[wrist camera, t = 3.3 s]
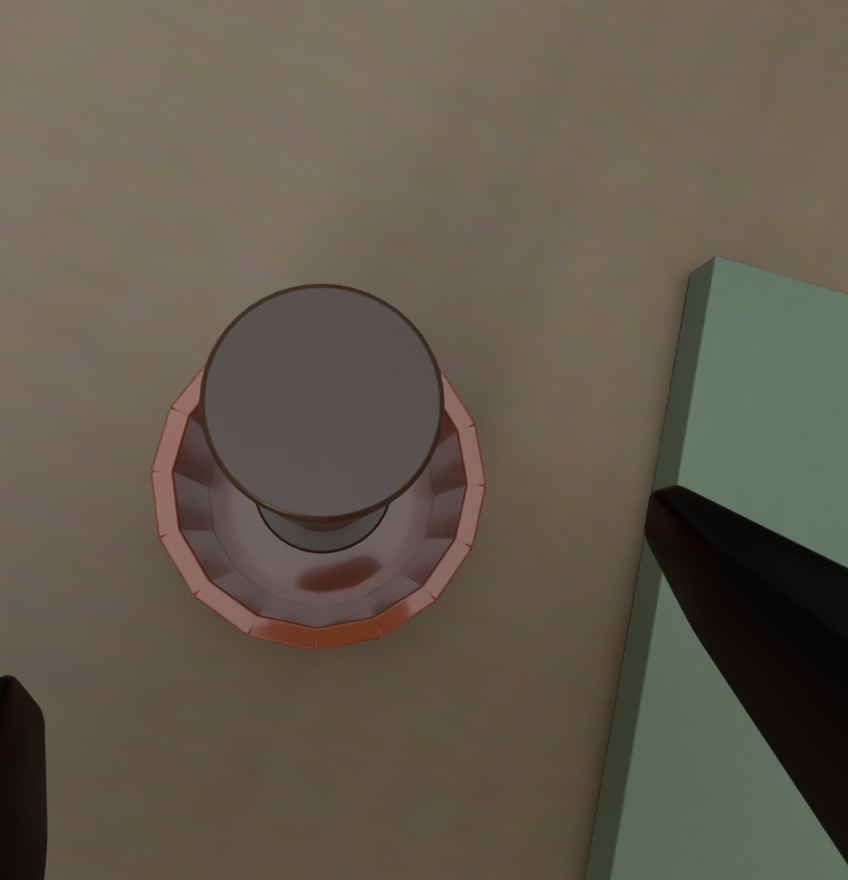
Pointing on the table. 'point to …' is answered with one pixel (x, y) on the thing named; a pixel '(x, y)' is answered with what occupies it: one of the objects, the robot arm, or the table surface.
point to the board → (662, 620)
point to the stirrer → (322, 411)
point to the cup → (311, 574)
